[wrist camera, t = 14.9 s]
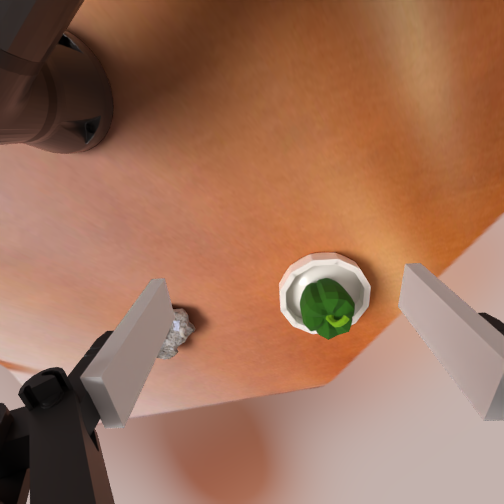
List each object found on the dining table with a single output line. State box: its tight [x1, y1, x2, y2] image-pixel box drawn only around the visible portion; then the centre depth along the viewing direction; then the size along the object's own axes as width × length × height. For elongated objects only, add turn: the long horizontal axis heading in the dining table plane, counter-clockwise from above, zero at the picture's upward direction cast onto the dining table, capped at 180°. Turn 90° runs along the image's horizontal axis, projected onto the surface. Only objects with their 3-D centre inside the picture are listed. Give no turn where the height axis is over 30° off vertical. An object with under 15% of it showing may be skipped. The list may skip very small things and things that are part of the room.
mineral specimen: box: [157, 309, 195, 360], centre depth 51 cm, size 6×11×12 cm
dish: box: [279, 252, 371, 334], centre depth 47 cm, size 15×15×3 cm
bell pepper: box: [300, 278, 355, 340], centre depth 43 cm, size 8×8×10 cm
